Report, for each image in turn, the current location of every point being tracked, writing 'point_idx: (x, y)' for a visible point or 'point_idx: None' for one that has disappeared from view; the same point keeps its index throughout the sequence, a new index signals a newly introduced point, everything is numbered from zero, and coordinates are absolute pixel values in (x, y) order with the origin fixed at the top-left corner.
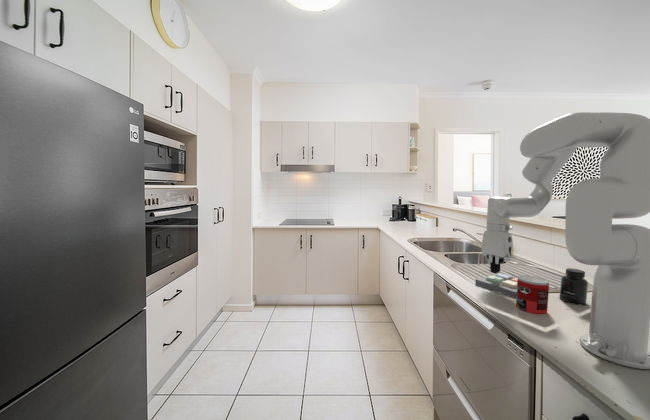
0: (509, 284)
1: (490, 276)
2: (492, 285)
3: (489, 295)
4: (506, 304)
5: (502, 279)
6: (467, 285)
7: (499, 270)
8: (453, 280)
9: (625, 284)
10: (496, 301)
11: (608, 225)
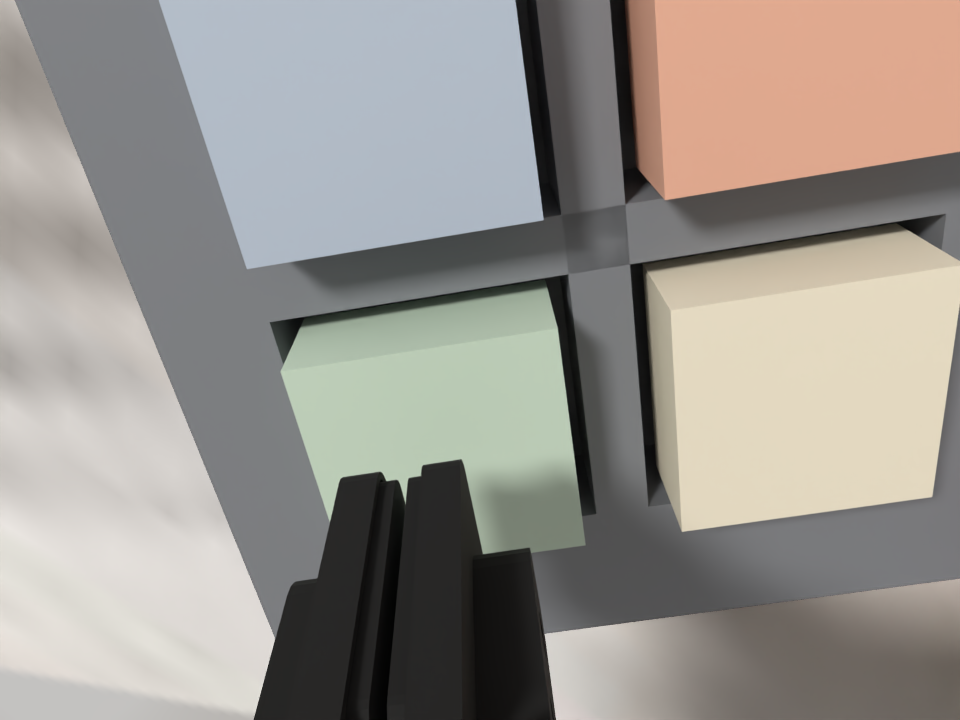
0: (835, 498)
1: (338, 484)
2: (601, 615)
3: (650, 635)
4: (921, 661)
5: (560, 370)
6: (251, 631)
7: (534, 578)
8: (11, 663)
9: None
10: (810, 690)
11: None
